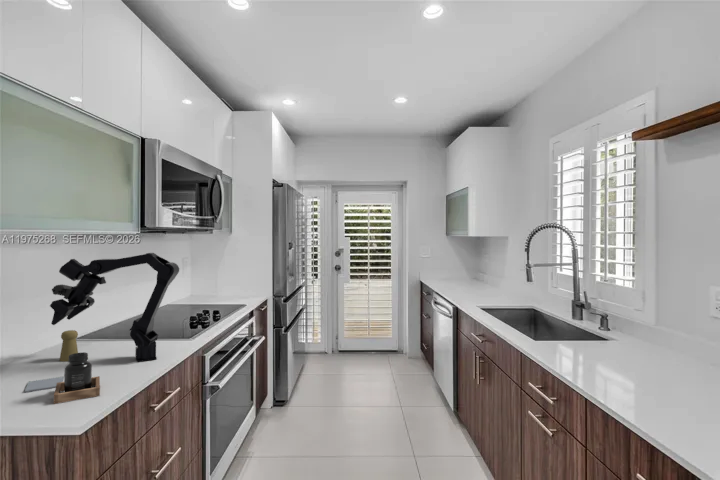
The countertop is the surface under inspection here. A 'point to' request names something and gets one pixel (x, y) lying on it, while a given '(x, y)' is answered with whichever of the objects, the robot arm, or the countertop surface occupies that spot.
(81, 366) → the supplement bottle
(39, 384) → the slate mat
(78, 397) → the walnut holder
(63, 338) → the cork
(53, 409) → the countertop surface
